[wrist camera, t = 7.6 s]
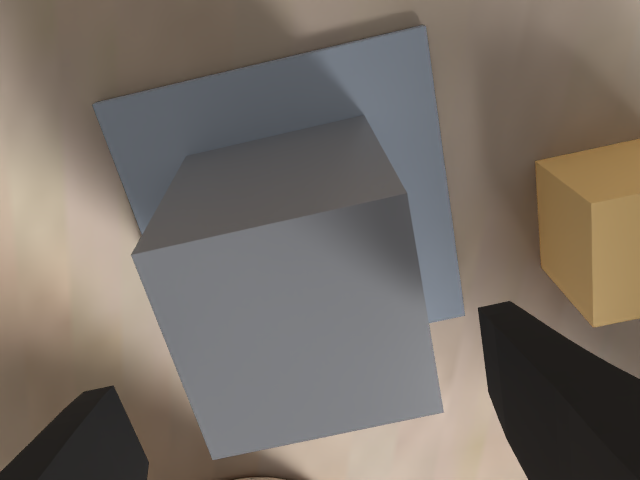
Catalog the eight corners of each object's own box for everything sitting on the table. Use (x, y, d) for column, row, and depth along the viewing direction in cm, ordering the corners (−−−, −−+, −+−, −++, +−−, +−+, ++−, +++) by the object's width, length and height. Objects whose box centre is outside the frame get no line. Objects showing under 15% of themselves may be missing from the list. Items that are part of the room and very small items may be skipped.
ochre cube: (656, 134, 19) (743, 171, 15) (652, 242, 21) (730, 299, 17) (534, 160, 19) (591, 203, 16) (540, 266, 21) (593, 327, 17)
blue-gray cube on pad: (364, 114, 18) (407, 193, 11) (393, 273, 20) (443, 412, 14) (186, 155, 18) (131, 255, 12) (235, 308, 20) (212, 460, 14)
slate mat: (422, 24, 17) (425, 26, 17) (462, 309, 21) (465, 315, 21) (96, 102, 18) (92, 104, 17) (196, 366, 22) (195, 373, 21)
